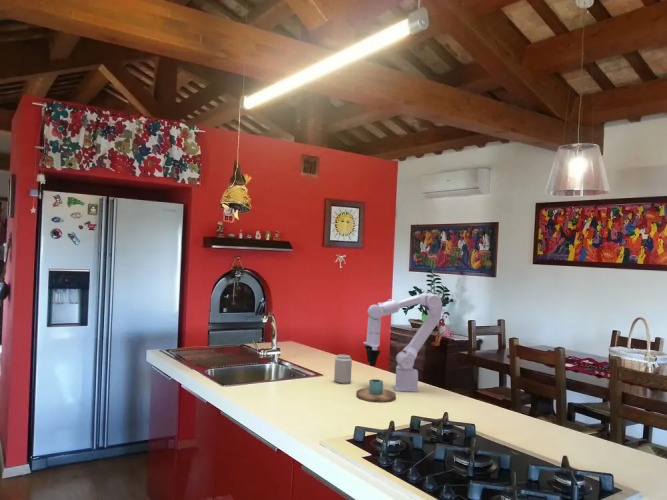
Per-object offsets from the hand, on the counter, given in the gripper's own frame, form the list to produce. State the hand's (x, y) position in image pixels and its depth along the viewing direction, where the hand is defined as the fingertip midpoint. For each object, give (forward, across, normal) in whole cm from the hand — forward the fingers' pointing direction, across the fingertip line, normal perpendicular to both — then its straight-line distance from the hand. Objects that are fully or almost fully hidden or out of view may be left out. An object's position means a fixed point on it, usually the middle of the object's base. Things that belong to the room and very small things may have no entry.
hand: (371, 364), depth 232 cm
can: (+11, -9, -11) cm, 18 cm away
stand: (+10, +14, +1) cm, 17 cm away
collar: (+9, +14, +1) cm, 17 cm away
